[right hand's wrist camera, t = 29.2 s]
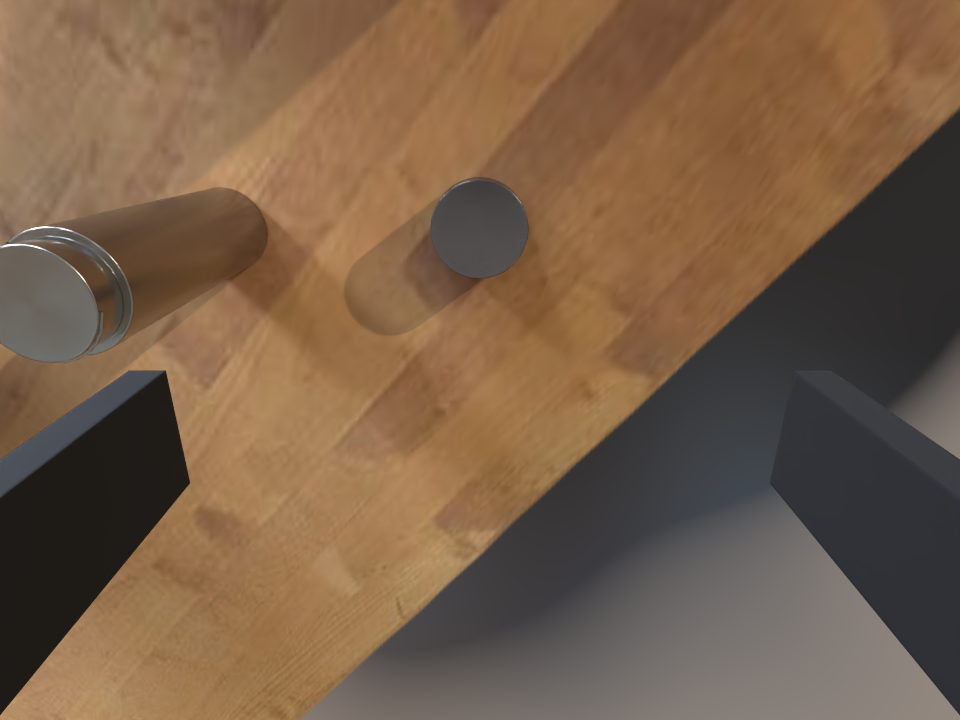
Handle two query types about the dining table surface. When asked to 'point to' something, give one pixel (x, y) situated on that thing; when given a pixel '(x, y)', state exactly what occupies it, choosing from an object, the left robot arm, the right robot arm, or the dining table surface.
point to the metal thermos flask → (120, 271)
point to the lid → (479, 227)
